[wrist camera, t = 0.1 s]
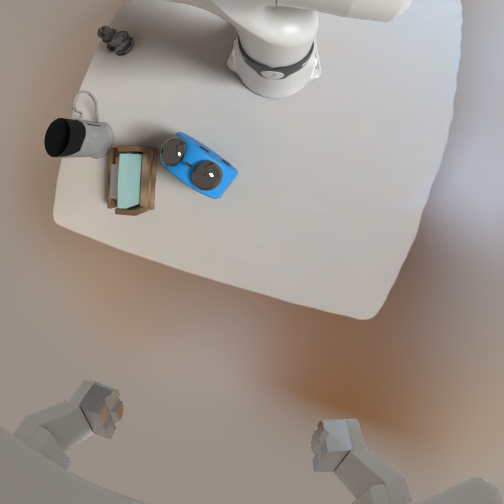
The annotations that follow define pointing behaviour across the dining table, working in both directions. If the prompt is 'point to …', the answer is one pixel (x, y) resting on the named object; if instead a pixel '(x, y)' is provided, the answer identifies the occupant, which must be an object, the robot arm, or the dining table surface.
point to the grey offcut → (114, 181)
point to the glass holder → (79, 136)
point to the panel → (129, 180)
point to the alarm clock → (197, 165)
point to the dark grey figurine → (116, 40)
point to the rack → (146, 178)
